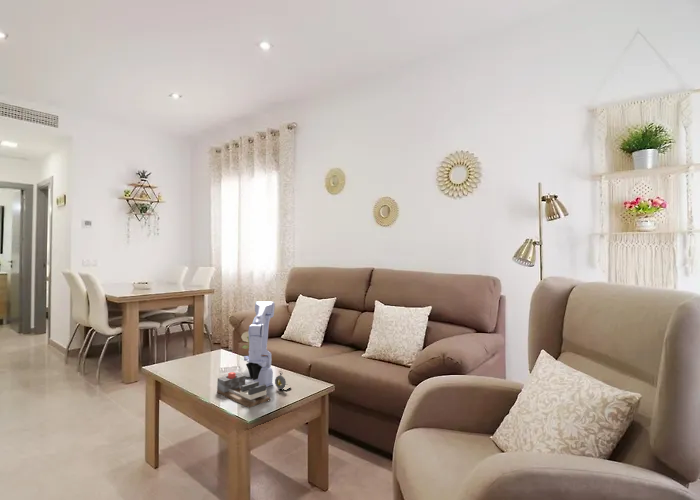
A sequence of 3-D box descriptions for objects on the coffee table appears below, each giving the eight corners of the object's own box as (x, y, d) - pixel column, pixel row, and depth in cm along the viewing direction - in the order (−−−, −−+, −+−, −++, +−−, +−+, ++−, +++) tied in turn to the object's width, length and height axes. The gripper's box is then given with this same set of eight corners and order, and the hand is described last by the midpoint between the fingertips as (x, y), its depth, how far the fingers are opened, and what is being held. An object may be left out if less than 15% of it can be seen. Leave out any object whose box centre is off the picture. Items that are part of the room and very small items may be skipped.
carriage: (255, 390, 183) (256, 381, 183) (266, 394, 178) (266, 385, 178) (240, 395, 176) (240, 385, 176) (250, 399, 171) (250, 389, 171)
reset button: (232, 379, 191) (232, 371, 191) (236, 381, 189) (237, 373, 189) (226, 381, 188) (226, 373, 188) (230, 383, 186) (230, 375, 186)
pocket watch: (291, 386, 198) (292, 367, 198) (289, 392, 190) (290, 372, 190) (276, 386, 198) (277, 367, 198) (273, 391, 189) (274, 372, 189)
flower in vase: (264, 373, 218) (266, 330, 218) (258, 379, 206) (260, 334, 207) (243, 371, 219) (244, 328, 219) (235, 378, 208) (237, 332, 208)
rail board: (237, 386, 195) (238, 372, 195) (270, 400, 178) (270, 385, 179) (217, 392, 186) (217, 378, 186) (248, 407, 169) (249, 392, 169)
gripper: (238, 348, 179) (237, 377, 179) (257, 354, 170) (256, 384, 169) (251, 345, 184) (250, 373, 184) (270, 351, 175) (269, 380, 175)
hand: (254, 378), depth 177 cm, fingers closed
